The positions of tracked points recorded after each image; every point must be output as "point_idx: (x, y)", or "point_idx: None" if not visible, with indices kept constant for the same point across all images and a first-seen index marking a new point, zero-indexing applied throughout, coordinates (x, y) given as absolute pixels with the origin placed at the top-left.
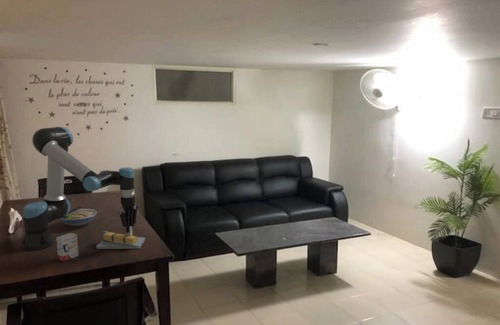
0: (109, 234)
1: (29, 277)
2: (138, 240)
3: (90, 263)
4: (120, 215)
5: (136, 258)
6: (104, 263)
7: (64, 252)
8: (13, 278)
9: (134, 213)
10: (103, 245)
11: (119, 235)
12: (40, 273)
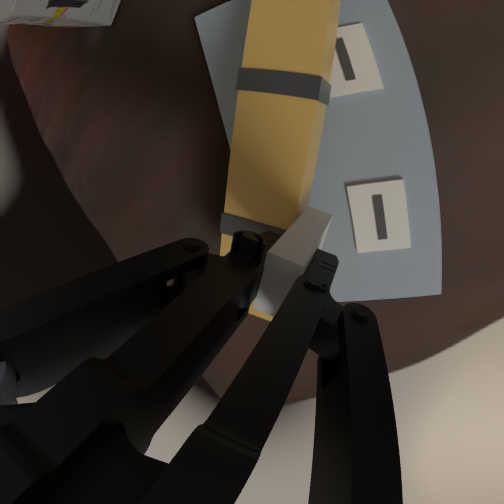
0: (266, 29)
1: (15, 52)
2: (373, 268)
3: (78, 137)
4: (12, 317)
5: None
6: (92, 195)
7: (43, 25)
8: (13, 26)
9: (317, 489)
10: (218, 47)
11: (263, 146)
12: (25, 52)
